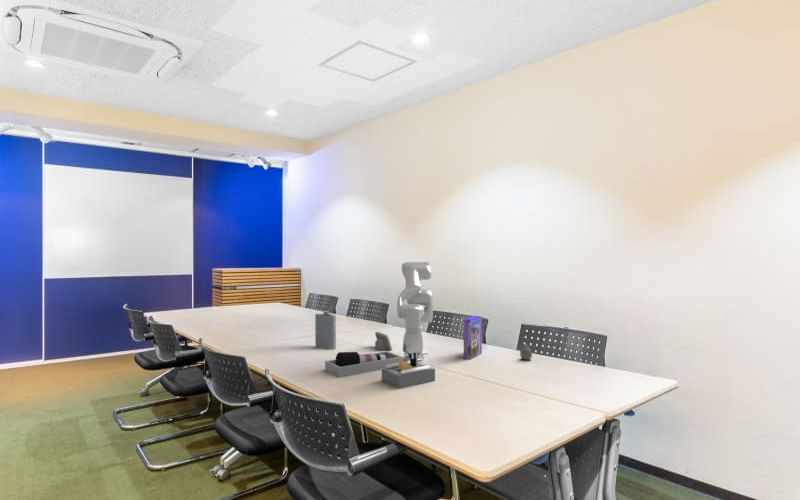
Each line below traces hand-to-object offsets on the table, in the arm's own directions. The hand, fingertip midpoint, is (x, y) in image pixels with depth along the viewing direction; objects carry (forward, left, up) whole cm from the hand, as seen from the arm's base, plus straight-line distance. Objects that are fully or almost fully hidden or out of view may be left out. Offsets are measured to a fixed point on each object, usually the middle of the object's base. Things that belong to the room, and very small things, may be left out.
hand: (413, 366), depth 230 cm
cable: (+9, -34, -7) cm, 36 cm away
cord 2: (+3, +7, -1) cm, 7 cm away
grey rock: (-25, -69, -7) cm, 73 cm away
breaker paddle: (+6, 0, -1) cm, 6 cm away
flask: (+5, -94, -7) cm, 94 cm away
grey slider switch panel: (+3, 0, -7) cm, 8 cm away
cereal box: (-60, -19, -7) cm, 63 cm away
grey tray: (+9, -34, -7) cm, 36 cm away
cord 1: (+3, -6, -1) cm, 7 cm away
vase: (-80, +6, -7) cm, 80 cm away
